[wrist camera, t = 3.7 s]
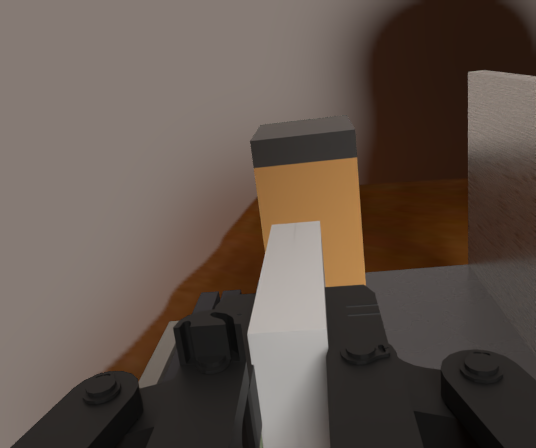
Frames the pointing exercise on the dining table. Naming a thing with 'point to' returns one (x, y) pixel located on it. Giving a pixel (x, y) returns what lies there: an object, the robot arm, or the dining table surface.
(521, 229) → the l-shaped metal bracket
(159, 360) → the long grooved rail
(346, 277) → the lever
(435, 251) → the dining table surface
